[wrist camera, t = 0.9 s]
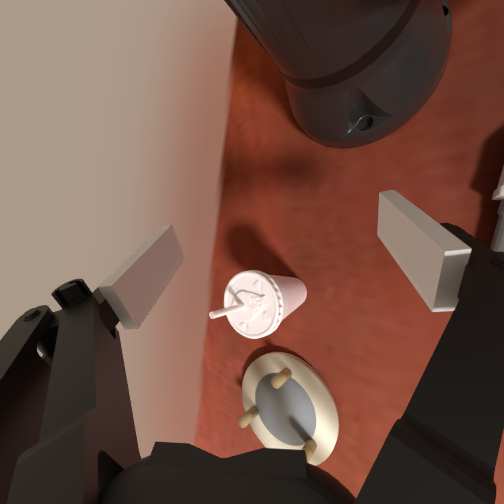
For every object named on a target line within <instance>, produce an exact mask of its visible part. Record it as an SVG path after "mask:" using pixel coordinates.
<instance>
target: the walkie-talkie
mask: <svg viewBox="0 0 504 504" xmlns="http://www.w3.org/2000/svg"><path fill="white" fill-rule="evenodd" d="M492 200H501V202H500V205H499V209H498V212H497V214H498V215H499V218H498V221H497V225H496V228H495V232H494V236H493V239H492V243H491V247H490V249H492V250H493V251H495V252H504V166H503V169H502V173H501V176H500V180H499V183H498V187H497V189H496V190H495V191H494V193H493V197H492Z"/></svg>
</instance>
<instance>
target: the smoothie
mask: <svg viewBox="0 0 504 504" xmlns="http://www.w3.org/2000/svg"><path fill="white" fill-rule="evenodd" d="M306 296H307V290H306V287H305V285H304V283H303V282H302V281H301V280H299V279H298V278H294V277H285V276H276V275H267V274H266V273H263V272H261V271H257V270H249V271H245V272H241V273H239V274H237V275H235V276H234V277H233V278H232V279H231V280H230V282H229V283H228V285H227V287H226V290H225V295H224V307H225V308H224V309H220V310H216V311H213V312H210V314H209V316H210V318H211V319H214V318H217V317H220V316H223V315H227V318H228V320H229V322H230V324H231V325H232V326H233V328H234V329H235V330H236V331H237V332H238V333H240V334H241V335H243V336H245V337H248V338H253V339H256V338H261V337H264V336H266V335H269V334H271V333H272V332H273V331H274V330H276V329H277V327H278V326H279V324H280V322H281V321H282V320H283V319H284V318H285V317H287V316H288V315H289V314H290V313H291V312H293V311H294V310H295V309H296V308H298V307H299V306H300V305H301V304H302V303H303V302H304V301H305V299H306Z"/></svg>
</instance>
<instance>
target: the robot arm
mask: <svg viewBox="0 0 504 504" xmlns="http://www.w3.org/2000/svg"><path fill="white" fill-rule="evenodd" d="M224 1H225V2H226V3H227V4H228V6H229V7H230V8H231V10H232V11H233V12H234V13H235V15H236V16H237V17H238V18H239V20H240V21H241V22H242V24H243V25H244V26H245V27H246V29H247V30H248V31H249V33H250V34H251V35H252V36H253V38H254V39H255V40H256V41H257V43H258V44H259V45H260V47H261V48H262V49H263V50H264V52H265V53H266V54H267V55H268V57H269V58H270V59H271V61H272V62H273V63H274V64H275V66H276V67H277V68H278V69H279V71H280V72H281V73H282V75H283V77H284V81H285V86H286V90H287V94H288V97H289V103H290V108H291V111H292V113H293V116H294V118H295V120H296V121H297V123H298V124H299V126H300V127H301V128H302V129H303V130H304V131H305V132H306V134H307V135H308V136H309V137H311V138H312V139H313V140H315V141H316V142H318V143H320V144H322V145H325V146H328V147H333V148H353V147H358V146H363V145H366V144H369V143H372V142H375V141H377V140H379V139H381V138H383V137H385V136H387V135H389V134H391V133H392V132H394V131H395V130H397V129H398V128H400V127H401V126H402V125H404V124H405V123H406V122H407V121H409V120H410V119H411V118H412V117H413V116H414V115H415V114H416V113H417V112H418V111H419V110H420V109H421V108H422V107H423V105H424V104H425V103H426V102H427V101H428V99H429V98H430V97H431V95H432V94H433V92H434V91H435V89H436V87H437V86H438V84H439V82H440V80H441V78H442V76H443V73H444V71H445V68H446V65H447V61H448V57H449V52H450V45H451V38H452V15H451V10H450V6H449V3H448V1H447V0H224ZM377 235H378V237H379V238H380V240H381V241H382V242H383V244H384V245H385V247H386V248H387V249H388V251H389V252H390V254H391V255H392V256H393V258H394V259H395V261H396V262H397V263H398V265H399V266H400V268H401V269H402V270H403V272H404V273H405V275H406V276H407V277H408V279H409V280H410V282H411V283H412V284H413V286H414V287H415V289H416V290H417V291H418V293H419V294H420V296H421V297H422V298H423V300H424V301H425V303H426V304H427V305H428V307H429V308H430V310H431V311H432V312H440V311H454V312H453V314H452V316H451V318H450V320H449V322H448V324H447V326H446V328H445V330H444V332H443V334H442V336H441V338H440V340H439V343H438V345H437V347H436V349H435V351H434V353H433V355H432V357H431V359H430V361H429V363H428V365H427V367H426V369H425V371H424V373H423V375H422V377H421V379H420V381H419V383H418V385H417V388H416V390H415V392H414V394H413V396H412V398H411V400H410V402H409V404H408V406H407V408H406V410H405V412H404V414H403V416H402V417H401V419H397V421H396V422H395V424H394V425H393V427H392V429H391V431H390V432H389V434H388V436H387V438H386V440H385V442H384V444H383V446H382V448H381V450H380V452H379V454H378V456H377V458H376V460H375V462H374V464H373V466H372V468H371V470H370V472H369V474H368V476H367V478H366V480H365V482H364V484H363V486H362V488H361V490H360V492H359V494H358V496H357V498H355V497H354V496H353V495H352V493H351V492H350V491H349V490H348V489H347V488H346V487H345V486H344V485H343V484H342V483H340V482H339V481H338V480H337V479H336V478H334V477H333V476H332V475H330V474H329V473H328V472H326V471H324V470H322V469H321V468H319V467H317V466H315V465H312V464H310V463H308V461H307V457H306V452H305V450H295V449H277V448H262V449H258V450H254V451H251V452H247V453H243V454H239V455H236V456H232V457H228V458H220V457H217V456H215V455H213V454H211V453H208V452H206V451H204V450H202V449H200V448H197V447H195V446H193V445H191V444H186V443H169V442H155V445H154V447H153V450H152V452H151V455H150V456H147V457H145V458H143V459H141V456H140V453H139V449H138V443H137V437H136V431H135V425H134V419H133V413H132V407H131V402H130V396H129V390H128V384H127V378H126V372H125V366H124V360H123V354H122V348H121V342H120V336H119V332H118V330H117V329H116V327H115V326H116V325H117V324H118V322H119V321H120V322H121V324H122V325H123V327H124V328H125V329H138V328H139V327H140V325H141V324H142V322H143V321H144V319H145V318H146V316H147V315H148V313H149V312H150V311H151V309H152V307H153V306H154V304H155V303H156V302H157V300H158V299H159V297H160V296H161V294H162V293H163V291H164V290H165V288H166V287H167V285H168V284H169V282H170V281H171V279H172V277H173V276H174V275H175V273H176V272H177V270H178V269H179V267H180V266H181V264H182V263H183V261H184V260H185V256H184V254H183V251H182V248H181V247H180V244H179V241H178V239H177V236H176V234H175V231H174V229H173V226H172V225H167V226H162V227H160V228H159V229H158V230H157V231H156V232H155V233H154V234H153V235H152V236H151V237H150V238H149V239H148V240H147V241H146V242H145V243H144V244H142V246H140V247H139V248H138V249H137V250H136V251H135V252H134V253H133V254H132V255H131V256H130V257H129V258H128V259H127V260H126V261H125V262H124V263H122V264H121V265H120V266H119V267H118V268H117V269H116V270H115V271H114V272H113V273H112V274H111V275H110V276H109V277H108V278H107V279H106V280H104V281H103V282H102V283H101V284H100V285H99V286H98V288H97V289H96V290H95V291H94V292H93V293H92V292H91V291H90V289H89V288H88V286H87V285H86V284H85V282H84V280H83V279H75V280H72V281H69V282H67V283H65V284H63V285H61V286H60V287H58V288H57V289H55V290H54V291H53V293H52V296H53V297H54V299H55V300H56V301H57V302H58V304H59V305H60V306H61V307H62V310H60V311H56V312H52V311H51V309H50V308H49V307H48V306H47V305H42V306H38V307H36V308H32V309H30V310H28V311H27V312H25V313H24V314H23V315H22V316H20V318H18V319H17V320H16V321H15V323H14V324H13V325H12V327H11V328H10V329H9V330H8V332H7V333H6V334H5V335H4V337H3V338H2V339H1V340H0V504H495V499H496V485H495V483H494V481H493V480H494V471H495V466H496V461H497V457H498V452H499V447H500V443H501V438H502V434H503V429H504V252H495V251H493V250H492V249H490V248H489V247H488V246H486V245H485V244H483V243H482V242H480V241H479V240H477V239H476V238H475V239H474V237H473V236H472V235H470V234H467V232H466V231H464V230H463V229H461V228H460V227H458V226H455V225H452V224H449V223H440V224H439V223H437V222H436V221H435V220H433V219H432V218H431V217H429V216H428V215H427V214H425V213H424V212H423V211H421V210H420V209H419V208H417V207H416V206H415V205H414V204H412V203H411V202H410V201H408V200H407V199H406V198H404V197H403V196H402V195H400V194H399V193H398V192H396V191H395V190H390V191H384V192H379V212H378V232H377ZM458 299H459V302H458V304H457V301H458ZM456 305H457V306H456ZM37 348H38V349H39V351H40V352H42V354H43V356H42V358H41V357H40V356H39V354H38V352H37Z"/></svg>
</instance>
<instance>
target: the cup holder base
mask: <svg viewBox="0 0 504 504" xmlns="http://www.w3.org/2000/svg"><path fill="white" fill-rule="evenodd" d="M242 400H243V406H244V410H245V413H244V414H243V415H242V416H241V417H240V418H239V419H238V424H239V426H240V427H241V428H245V427H246V426H247V425H248V424H249V423H250V425H251V427H252V429H253V431H254V432H255V434H256V435H257V437H258V438H259V440H260V441H261V442H262V443H263V444H264V446H265V447H266V448H277V449H295V450H305V452H306V457H307V461H308V463H310V464H312V465H315V466H316V465H318V464H320V463H322V462H323V461H325V460H326V459H327V458H328V457H329V455H330V454H331V452H332V450H333V448H334V446H335V444H336V441H337V438H338V434H339V415H338V410H337V406H336V403H335V400H334V398H333V395H332V393H331V391H330V389H329V387H328V386H327V384H326V383H325V381H324V380H323V378H322V377H321V376H320V375H319V374H318V372H317V371H316V370H315V369H314V368H312V367H311V366H310V365H309V364H308V363H306V362H305V361H304V360H302V359H300V358H299V357H296V356H294V355H292V354H289V353H285V352H270V353H267V354H264V355H262V356H260V357H259V358H257V359H256V360H255V361H253V362H252V363H251V364H250V366H249V367H248V369H247V370H246V373H245V375H244V378H243V384H242Z"/></svg>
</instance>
